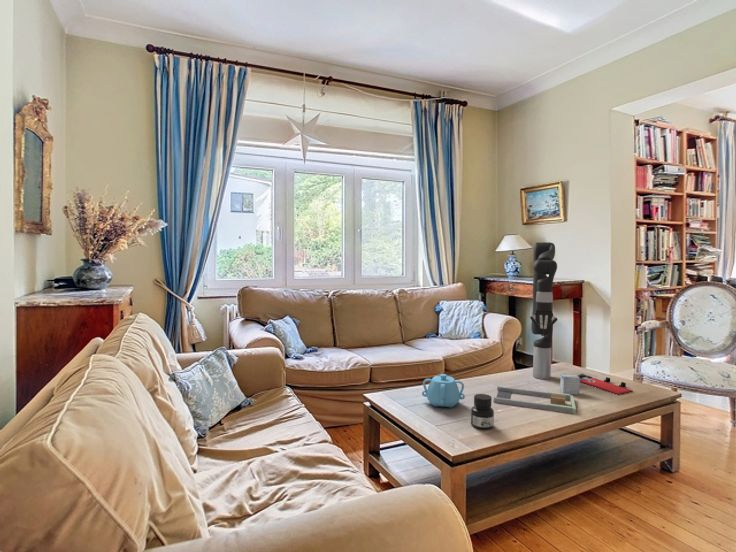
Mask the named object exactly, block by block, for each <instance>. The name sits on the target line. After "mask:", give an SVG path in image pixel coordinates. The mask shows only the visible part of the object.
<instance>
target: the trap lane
mask: <svg viewBox="0 0 736 552" xmlns="http://www.w3.org/2000/svg"><path fill="white" fill-rule="evenodd" d="M497 390H498V391H497ZM496 391H497V394H496V396H495V397H493V403H497V404H504V405H511V406H517V407H527V408H532V409H540V410H546V409H547V410H546V411H553V410H554V411H556V412H560V411H561V413H569V414H575V415H576V413H577V412H576V411H577V408H576V403H575V399H574V395H573V394H563V393H562V392H555V391H554V392H553V391H540V390H539V391H538V390H532V389H523V388H515V387H507V386H499V385H497V389H496ZM511 392H512V393H511ZM518 393H519V394H521V395H526V394H527V396H534V395H535V397H541V396H543V398H549V399H551V393H553V394H560V395H565V401H566V400H567V401H570V406H569V405H565V406H563V405H555V404H551V403H540V402H539V403H538V402H533V401H525V400H516V399H511V395H512V394H518Z"/></svg>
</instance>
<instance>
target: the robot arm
mask: <svg viewBox="0 0 736 552" xmlns="http://www.w3.org/2000/svg"><path fill="white" fill-rule="evenodd" d="M532 255H533V256H532V257H533V267H532V268H533V269H532V270H533V277H532V278H533V279H532V280H533V282H532V314H531V316H530V320H531V324H530V325H531V326H530V327H531V333H532V334H533V335H538V336H539V335H540V336H541V338H539V339H535V340H534V341H533V355H532V356H533V357H532V359H533V361H532V377H533V378H536V379H538V380H539V379H541V380H550V379H551V375H552V344H553V331H554V329H553V328H554V324H555V323H557V322H558V317H556V316H555V315H554V313H553V305H554V304H553V303H554V302H553V301H554V297H553V294H554V293H553V284H554V279H555V276H556V273H557V270H558V263H557V262H556V260H554V258H555V256H556V246H555V243H553V242H548V241H546V242H541V241H540V242H535V243H534V244H533V253H532Z"/></svg>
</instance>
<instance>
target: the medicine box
mask: <svg viewBox="0 0 736 552" xmlns="http://www.w3.org/2000/svg"><path fill="white" fill-rule="evenodd" d="M577 375H578V374H560V383H559V384H560V386H559V387H560V389H559V391H560V393H563V394H570V395H580V389H581V387H580V386H581V383H580V380H581V379H580V378H579V377H578V376H577Z"/></svg>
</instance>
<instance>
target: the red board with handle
mask: <svg viewBox="0 0 736 552" xmlns="http://www.w3.org/2000/svg"><path fill="white" fill-rule="evenodd" d="M576 375H577V376H578V377H579V378H580V384H582V383H583V385H585V384H586V386H588V385H589V386H588V387H591V386H593V387H592V388H595V387H596V388H595V389H598V388H599V389H598V390H601V389H602V390H601V391H604V390H605V391H604V392H607V391H608V392H607V393H610V392H611V393H610V394H613V393H614V395H616V394H617V395H616V396H621V395H620V394H622V395H625V393H626V394H630V393H629V392H631V393H633V392H634V390H632V389H628V388H627V387H626V386H627V383H626V382H624V381H622V382H620V384H619V385H616V384H614V383H611V378H610V377H607V376H606V377H605V379H604V380H601V379H597V378H594V377H593V376H589V375H587V374H584V373H579V374H576ZM608 382H610V383H608ZM624 387H625V388H624Z"/></svg>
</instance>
